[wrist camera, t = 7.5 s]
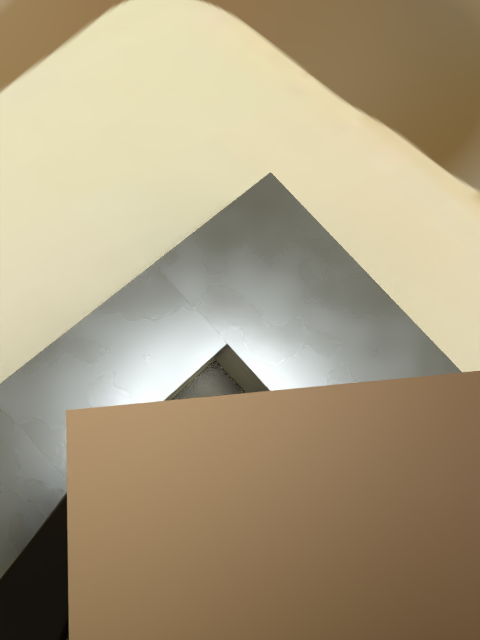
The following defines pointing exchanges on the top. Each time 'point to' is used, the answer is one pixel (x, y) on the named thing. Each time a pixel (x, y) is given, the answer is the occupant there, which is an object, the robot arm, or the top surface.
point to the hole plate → (205, 339)
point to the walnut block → (279, 514)
